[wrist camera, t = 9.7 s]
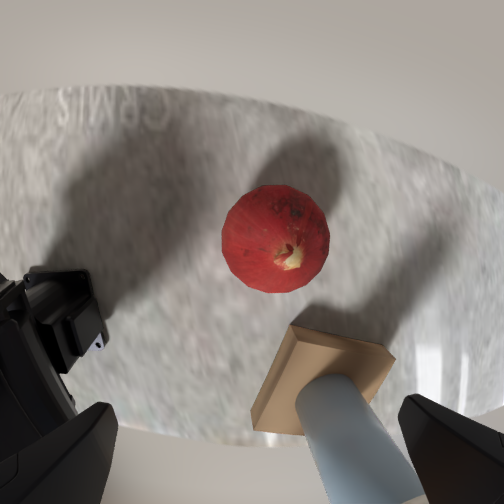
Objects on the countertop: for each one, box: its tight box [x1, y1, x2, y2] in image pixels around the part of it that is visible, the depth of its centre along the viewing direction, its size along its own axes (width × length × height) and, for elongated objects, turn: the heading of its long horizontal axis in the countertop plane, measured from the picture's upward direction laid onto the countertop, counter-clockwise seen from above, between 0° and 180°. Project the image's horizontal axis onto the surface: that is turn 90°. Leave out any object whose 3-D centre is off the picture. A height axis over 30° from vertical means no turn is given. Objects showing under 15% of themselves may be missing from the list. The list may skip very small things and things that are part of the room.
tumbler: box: [295, 374, 429, 504], centre depth 14 cm, size 5×5×13 cm
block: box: [251, 325, 396, 436], centre depth 22 cm, size 9×9×2 cm
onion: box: [222, 185, 330, 293], centre depth 16 cm, size 6×6×8 cm
